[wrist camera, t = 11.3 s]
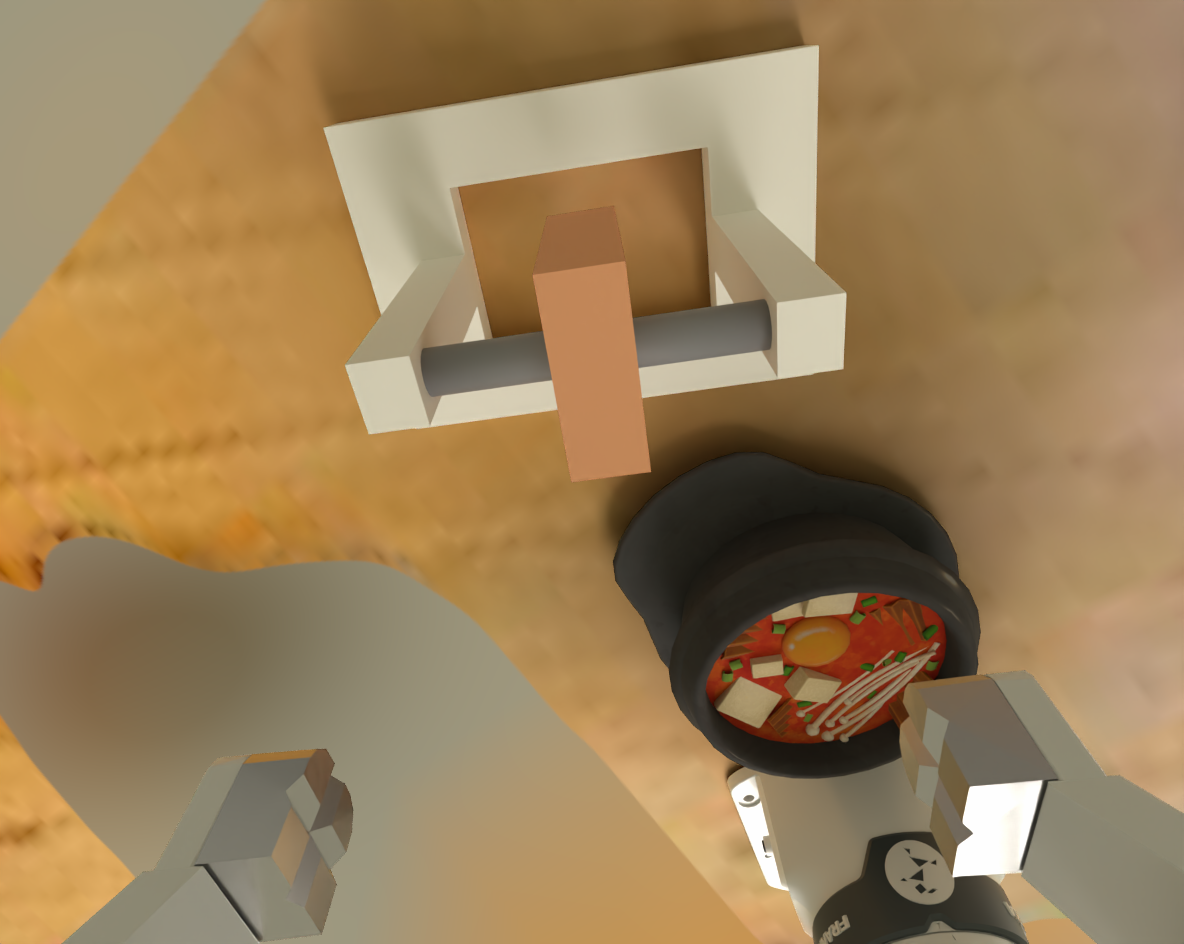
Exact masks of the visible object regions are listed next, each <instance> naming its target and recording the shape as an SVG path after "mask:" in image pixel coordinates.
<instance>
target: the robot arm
mask: <svg viewBox="0 0 1184 944" xmlns="http://www.w3.org/2000/svg"><path fill="white" fill-rule="evenodd" d="M903 704H904V706H905V708H906V710H907V712H908V714H909V717H908V718H907V719H906V720H905V721H904V722H903V723H902V724H901V725H900V741H899V743H900V749H901V755H902V757H901V758H899V759H897V760H895V761H893V762H890V763H888V764H885V765H882V766H879V767H876V768H874V769H871V770H868V771H863V772H859V773H855V774H850V775H846V776H839V777H830V778H821V779H795V778H787V777H780V776H773V775H768V774H765V773H761V772H758V771H755V770H751V769H748V768H746V767H743V768H741V769H739V770H738V771H736V772H735V773H733V774H732V775H731V776H730V777H729V778H728V780H727V784H728V787H729V790H730V793H731V796H732V799H733V801H734V804H735V806H736V808H737V811H738V813H739V816H740V818H741V821H742V823H743V826H744V828H745V831H746V833H747V835H748V838H749V840H750V843H751V845H752V848H753V850H754V853H755V855H756V858H757V860H758V863H759V865H760V867H761V870H762V872H763V875H764V877H765V880H766V882H767V883H768V884H769V885H770V886H772V887H775V888H779V889H783V890H788V891H789V893H790V896H791V899H792V902H793V905H794V907H795V910H796V912H797V915H798V918H799V920H800V923H801V925H802V927H803V930H804V931H805V932H806V933H807V934H808V935H809V936H811V937H812V938H813V940H814V944H1029V942H1028V940H1027V938H1026V932H1025V930H1024V927H1023V924H1022V922H1021V920H1020V918H1019V916H1018V914H1017V912H1016V911H1015V910H1014V909H1013V907H1012V906H1011V904H1010V902H1009V900H1008V898H1007V896H1006V894H1005V892H1004V890H1003V889H1002V887H1001V886H1000V883H1001V881H1002V880H1003V878H1004V876H1005V873H1021V872H1022V877H1023V878H1024V879H1025V880H1026V881H1027V882H1029V883H1030V884H1031V885H1032V886H1033V887H1034V888H1035V889H1036V890H1038V891H1039V892H1040V893H1041V894H1042V895H1043V896H1044V897H1045V898H1047V899H1048V900H1049V901H1050V902H1051V903H1052V904H1053V905H1054V906H1055V907H1057V908H1058V909H1059V910H1060V911H1061V912H1062V913H1063V914H1064V915H1066V916H1067V917H1068V918H1069V919H1070V920H1071V921H1072V922H1073V923H1075V924H1076V925H1077V926H1078V927H1079V928H1080V929H1081V930H1082V931H1084V932H1085V933H1086V934H1087V935H1088V936H1089V937H1090V938H1091V939H1093V940H1094V941H1095V942H1096V943H1097V944H1184V813H1182V812H1180V811H1179V810H1177V809H1175V808H1174V807H1172V806H1170V805H1169V804H1167V803H1165V802H1164V801H1162V800H1160V799H1159V798H1157V797H1155V796H1154V795H1152V794H1150V793H1149V792H1147V791H1145V790H1144V789H1142V788H1140V787H1139V786H1137V785H1135V784H1134V783H1132V782H1130V781H1129V780H1127V779H1125V778H1124V777H1122V776H1120V775H1110V776H1107V775H1106V774H1105V773H1104V771H1103V770H1102V769H1101V767H1100V766H1099V764H1098V763H1097V762H1096V760H1095V759H1094V758H1093V756H1092V755H1091V754H1090V752H1089V751H1088V750H1087V748H1086V747H1085V746H1084V744H1083V743H1082V741H1081V740H1080V739H1079V737H1078V736H1077V735H1076V733H1075V732H1074V731H1073V729H1072V728H1071V727H1070V725H1069V724H1068V722H1067V721H1066V720H1065V718H1064V717H1063V716H1062V714H1061V713H1060V712H1059V710H1058V709H1057V708H1056V706H1055V705H1054V704H1053V702H1052V701H1051V699H1050V698H1049V697H1048V695H1047V694H1046V693H1045V691H1044V690H1043V689H1042V687H1041V686H1040V685H1039V683H1038V682H1037V680H1036V679H1035V678H1034V676H1033V675H1031V674H1030V673H1028V672H1026V671H1025V670H1023V671H1013V672H1004V673H995V674H986V675H981V674H980V675H972V676H964V677H955V678H947V679H939V680H931V681H923V682H915V683H909V684H908V685H907V687H906V688H905V691H904V699H903ZM334 764H335V763H334V762H333V760H332V758H331V757H330V755H329V753H328V751H327V750H326V749H312V750H299V751H287V752H275V753H262V754H252V755H242V756H231V757H221V758H218V759H217V760H216V761H215V762H214V763H213V764H211V765H210V766H209V767H208V769H207V770H206V773H205V774H204V776H203V778H202V780H201V782H200V784H199V785H198V787H197V789H196V791H195V793H194V795H193V797H192V799H191V801H190V803H189V804H188V806H187V808H186V810H185V812H184V814H183V816H182V818H181V820H180V821H179V823H178V825H177V827H176V829H175V831H174V833H173V834H172V836H171V838H170V840H169V842H168V844H167V846H166V848H165V850H164V851H163V853H162V855H161V857H160V859H159V861H158V863H157V865H156V867H155V869H154V870H153V871H145V872H142V873H141V874H140V875H139V876H138V877H136V878H135V879H134V880H133V881H132V882H131V883H130V884H129V885H127V886H126V887H125V888H124V889H123V890H122V891H121V892H120V893H118V894H117V895H116V896H115V897H114V898H113V899H112V900H111V901H109V902H108V903H107V904H106V905H105V906H104V907H103V908H101V909H100V910H99V911H98V912H97V913H96V914H95V915H94V916H92V917H91V918H90V919H89V920H88V921H87V922H86V923H85V924H83V925H82V926H81V927H80V928H79V929H78V930H77V931H76V932H74V933H73V934H72V935H71V936H70V937H69V938H68V939H67V940H65V941H64V942H63V943H62V944H260V943H259V942H266V941H274V940H282V939H291V938H298V937H307V936H315V935H321V934H322V932H323V928H324V925H325V922H326V918H327V915H328V912H329V908H330V905H331V901H332V898H333V895H334V892H335V888H336V885H337V884H336V881H335V879H334V876H333V874H332V871H331V868H332V867H333V866H334V865H335V864H336V863H337V862H338V861H339V859H341V857H342V856H343V855H344V854H345V853H346V851H347V848H348V844H349V840H350V837H351V833H352V821H353V807H352V802H351V796H350V793H349V791H348V789H347V787H346V785H345V783H342V782H341V781H339V780H338V779H336V778H334V777H333V776H331V773H332V770H333V767H334Z"/></svg>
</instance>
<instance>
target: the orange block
mask: <svg viewBox="0 0 1184 944" xmlns="http://www.w3.org/2000/svg"><path fill="white" fill-rule="evenodd" d="M533 280H534V286H535V291H536V296H537V302H538V307H539V313H540V318H541V323H542V329H543V334H544V339H545V345H546V350H547V355H548V361H549V366H550V371H551V377H552V382H553V387H554V393H555V398H556V403H557V409H558V414H559V419H560V425H561V430H562V435H563V441H564V446H565V451H566V457H567V462H568V467H569V473H570V478H571V482H578V481H586V480H593V479H601V478H609V477H616V476H624V475H632V474H639V473H647V472H651V467H650V459H649V451H648V442H647V434H646V426H645V418H644V409H643V401H642V393H641V385H640V376H639V368H638V360H637V352H636V343H635V335H634V327H633V318H632V310H631V302H630V294H629V285H628V277H627V269H626V261H625V256H624V251H623V247H622V242H621V237H620V232H619V228H618V223H617V218H616V213H615V209H614V206H610V207H603V208H597V209H590V210H584V211H577V212H571V213H565V214H558V215H552V216H547V218H546V222H545V226H544V231H543V235H542V239H541V243H540V247H539V251H538V255H537V259H536V263H535V267H534V271H533Z"/></svg>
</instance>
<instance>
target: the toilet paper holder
mask: <svg viewBox="0 0 1184 944" xmlns="http://www.w3.org/2000/svg"><path fill="white" fill-rule="evenodd" d="M818 67H819V45H803V46H797V47H791V48H785V49H779V50H773V51H767V52H761V53H755V54H749V55H743V56H737V57H731V58H725V59H719V60H713V61H707V62H701V63H695V64H689V65H683V66H677V67H671V68H665V69H659V70H653V71H647V72H641V73H635V74H629V75H623V76H617V77H611V78H605V79H599V80H593V81H587V82H581V83H575V84H569V85H563V86H557V87H551V88H545V89H539V90H533V91H527V92H522V93H516V94H510V95H504V96H498V97H492V98H486V99H480V100H474V101H468V102H462V103H456V104H450V105H444V106H438V107H432V108H426V109H420V110H414V111H408V112H402V113H396V114H390V115H384V116H378V117H372V118H366V119H360V120H354V121H348V122H342V123H337V124H334V125H331V126H328V127H325V128H324V132H325V135H326V138H327V141H328V144H329V148H330V151H331V154H332V157H333V161H334V164H335V167H336V170H337V174H338V177H339V180H340V183H341V186H342V190H343V193H344V196H345V199H346V203H347V206H348V209H349V212H350V216H351V219H352V222H353V225H354V228H355V232H356V235H357V238H358V241H359V245H360V248H361V251H362V254H363V257H364V261H365V264H366V267H367V270H368V274H369V277H370V280H371V283H372V287H373V290H374V293H375V296H376V299H377V303H378V306H379V309H380V312H381V316H380V318H379V319H378V321H377V322H376V323H375V325H374V326H373V327H372V329H371V330H370V331H369V333H368V334H367V336H366V337H365V338H364V340H363V341H362V342H361V344H360V345H359V346H358V348H357V349H356V351H355V352H354V353H353V355H352V356H351V357H350V359H349V360H348V361H347V363H346V364H345V367H346V370H347V373H348V376H349V379H350V382H351V384H352V387H353V390H354V393H355V396H356V399H357V402H358V404H359V407H360V410H361V413H362V416H363V419H364V422H365V424H366V427H367V430H368V433H369V434H376V433H383V432H390V431H398V430H405V429H412V428H416V429H421V428H428V427H435V426H442V425H450V424H457V423H464V422H471V421H479V420H486V419H493V418H501V417H508V416H515V415H522V414H530V413H537V412H544V411H551V410H558V409H557V403H556V398H555V393H554V387H553V382H552V377H551V371H550V366H549V361H548V355H547V350H546V345H545V339H544V334H543V331H539V332H532V333H526V334H519V335H512V336H505V337H498V338H493V337H492V333H491V328H490V324H489V320H488V315H487V311H486V307H485V302H484V298H483V294H482V289H481V285H480V281H479V276H478V272H477V267H476V263H475V259H474V254H473V250H472V246H471V241H470V237H469V233H468V228H467V224H466V220H465V215H464V211H463V206H462V202H461V198H460V193H459V189H458V187H460V186H466V185H472V184H479V183H485V182H491V181H497V180H504V179H510V178H516V177H522V176H529V175H535V174H541V173H548V172H554V171H560V170H566V169H573V168H579V167H585V166H592V165H598V164H604V163H610V162H617V161H623V160H629V159H635V158H642V157H648V156H654V155H661V154H667V153H673V152H679V151H686V150H692V149H698V148H702V165H703V182H704V198H705V215H706V232H707V248H708V265H709V282H710V298H711V307H705V308H698V309H691V310H684V311H677V312H670V313H664V314H657V315H650V316H643V317H636V318H633V327H634V335H635V343H636V352H637V360H638V368H639V376H640V385H641V393H642V398H646V397H653V396H660V395H668V394H675V393H682V392H690V391H697V390H704V389H711V388H719V387H726V386H733V385H740V384H748V383H755V382H762V381H770V380H777V379H784V378H791V377H799V376H806V375H813V373H819V372H826V371H833V370H841V369H843V365H844V341H845V316H846V292H845V291H844V290H843V289H842V288H841V287H840V286H839V285H838V284H837V283H836V282H835V281H833V280H832V279H831V278H830V277H829V276H828V275H827V274H826V273H825V272H824V271H823V270H822V269H821V268H820V267H819V266H818V265H816V264H815V238H816V181H817V124H818Z"/></svg>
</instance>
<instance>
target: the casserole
mask: <svg viewBox="0 0 1184 944" xmlns="http://www.w3.org/2000/svg"><path fill="white" fill-rule="evenodd" d="M613 565H614V573H615V581H616V582H617V584H618V585H619V587H620V588H621V590H622V591H623V593H624V594H625V596H626V597H627V598H628V600H629V601H630V602H631V604H632V605H633V606H634V608H635V609H636V610H637V611H638V613H639V614H640V615H641V617H642V618H643V619H644V622H645V624H646V626H647V629H648V631H649V633H650V636H651V638H652V640H653V643H654V645H655V647H656V650H657V652H658V654H659V656H660V659H661V660H662V661H663V662H664V664H665V665H666V666H667V667H668V669H669V675H670V682H671V688H672V692H673V694H674V697H675V699H676V701H677V703H678V706H679V708H680V710H681V711H682V712H683V713H684V715H685V716H686V717H687V718H688V720H689V721H690V722H691V723H692V724H693V726H695V727H696V728H697V729H698V730H700V731H701V732H702V733H703V734H704V736H705V737H706V738H707V739H708V741H709V742H710V743H711V744H712V746H713V747H714V748H716V749H717V750H718V751H719V752H721V753H722V754H723V755H725V756H726V757H727V758H729V759H730V760H732V761H734V762H736V763H738V764H740V765H742V766H744V767H746V768H748V769H751V770H755V771H758V772H761V773H765V774H768V775H773V776H780V777H787V778H795V779H821V778H830V777H839V776H846V775H850V774H855V773H859V772H863V771H868V770H871V769H874V768H876V767H879V766H882V765H885V764H888V763H890V762H893V761H895V760H897V759H899V758H901V757H902V755H901V749H900V743H899V741H900V725H901V724H902V723H903V722H904V721H905V720H906V719H907V718H908V717H909V714H908V712H907V710H906V708H905V706H904V704H903V699H904V691H905V688H906V687H907V685H908V684H909V683H915V682H923V681H931V680H939V679H947V678H955V677H964V676H972V675H976V674H977V668H978V657H977V651H978V645H979V639H980V633H981V631H980V623H979V614H978V609H977V607H976V605H975V602H974V600H973V598H972V595H971V593H970V591H969V589H968V588H967V587H966V586H965V585H964V583H963V582H962V581H961V580H960V579H959V571H958V563H957V555H956V552H955V550H954V548H953V545H952V543H951V541H950V539H949V536H948V534H947V532H946V531H945V530H944V529H943V527H942V526H941V525H940V524H939V523H938V521H937V520H936V519H935V518H934V516H933V515H932V514H931V513H930V512H928V511H927V510H926V509H924V508H923V507H921V506H920V505H919V504H917V503H916V502H914V501H913V500H912V499H910V498H909V497H907V496H904V495H902V494H899V493H897V492H895V491H892V490H890V489H888V488H885V487H883V486H879V485H874V484H869V483H864V482H859V481H854V480H849V479H844V478H838V477H833V476H828V475H823V474H819V473H816V472H814V471H811V470H809V469H807V468H804V467H802V466H800V465H797V464H795V463H792V462H790V461H787V460H784V459H781V458H779V457H776V456H773V455H770V454H767V453H764V452H738V453H733V454H729V455H726V456H723V457H720V458H717V459H713V460H710V461H707V462H705V463H703V464H702V465H700V466H698V467H696V468H694V469H692V470H690V471H688V472H686V473H684V474H682V475H680V476H679V477H677V478H676V479H675V480H673V481H672V482H671V483H670V484H668V485H667V486H666V487H664V488H663V489H662V490H660V491H659V492H658V493H656V494H655V495H654V496H653V497H652V498H651V499H650V500H649V501H648V502H647V503H646V504H645V505H644V507H643V508H642V509H641V510H640V511H639V512H638V513H637V514H636V515H635V516H634V518H633V519H632V521H631V522H630V524H629V526H628V527H627V529H626V531H625V532H624V534H623V536H622V537H621V539H620V541H619V544H618V547H617V550H616V553H615V557H614V560H613Z"/></svg>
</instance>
